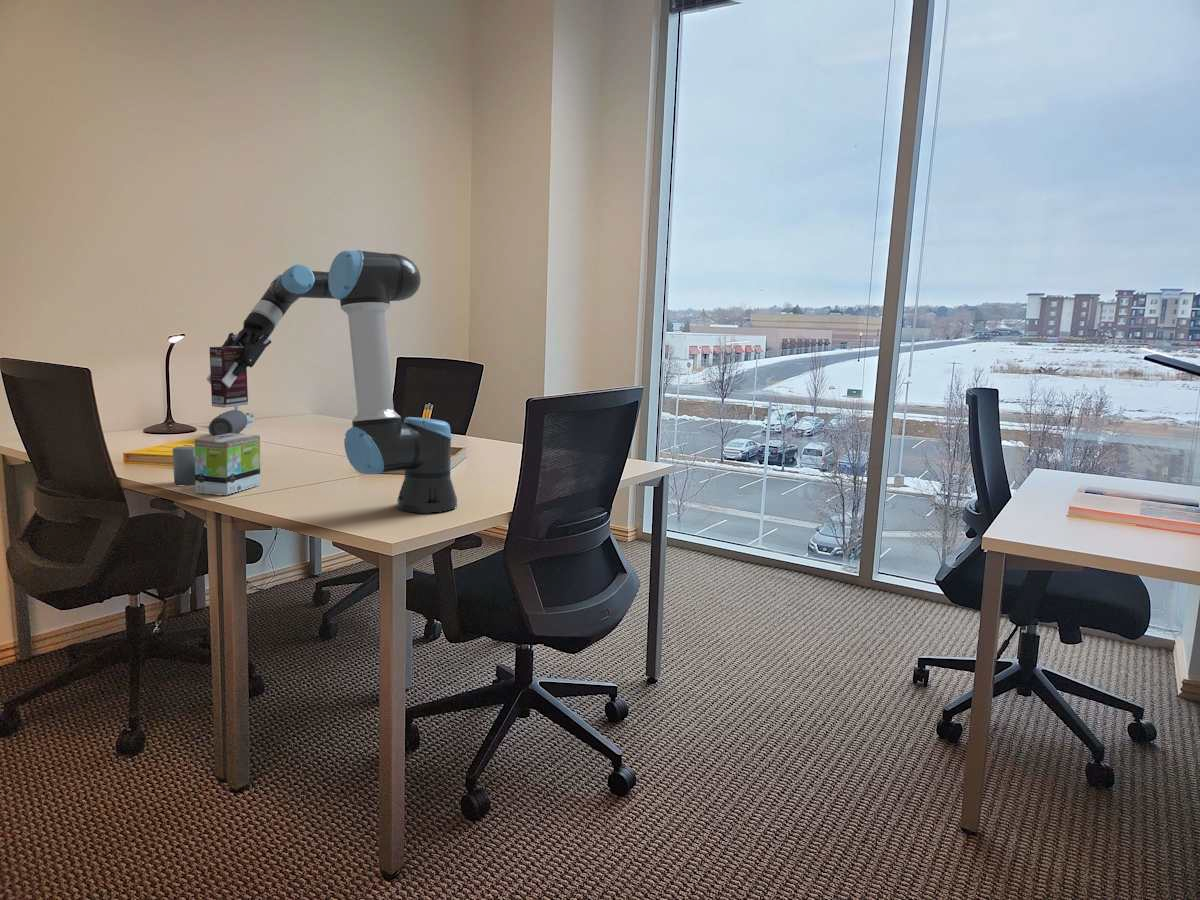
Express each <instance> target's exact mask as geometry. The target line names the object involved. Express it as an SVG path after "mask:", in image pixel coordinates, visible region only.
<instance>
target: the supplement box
mask: <svg viewBox="0 0 1200 900" xmlns="http://www.w3.org/2000/svg"><path fill="white" fill-rule="evenodd" d="M244 348H245V347H242V345H241V346H226V347H222V346H210V347H209V366H210V367H209V368H210V373H211V384H210V390H211V407H214V408H230V407H231V408H233V407H234V406H239V407H240V406H245V405H246V406H247V405H249V393H248V392H249V391H248V373H247V372H248V370H247V368H248V367H247V368H245V369H243V371H242V372H241V373H240V375H239V376H238V377H237V378H236V379H235V381H234V382H233V384H232V385H231V386H230V387H227V386H226V385H225V384H224V383H223V382H222V379H223V378H224V376H225V375H226V374H227V372H228V371H229V369H230V368H231V367H232V365H233V364H234V362H237V361H236V359H239V358H240V356H241V354H242V351H243V350H244ZM237 363H238V362H237Z"/></svg>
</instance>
